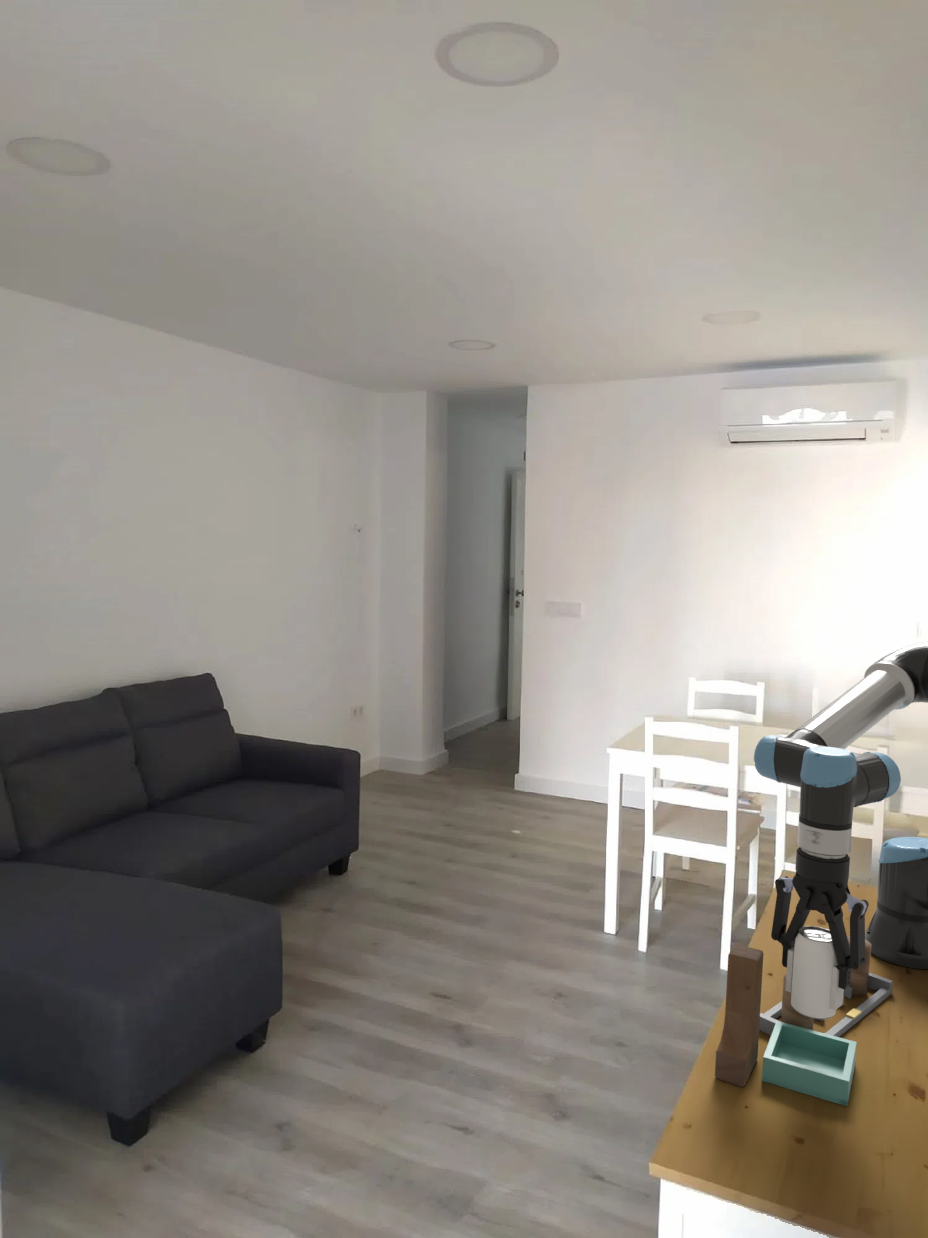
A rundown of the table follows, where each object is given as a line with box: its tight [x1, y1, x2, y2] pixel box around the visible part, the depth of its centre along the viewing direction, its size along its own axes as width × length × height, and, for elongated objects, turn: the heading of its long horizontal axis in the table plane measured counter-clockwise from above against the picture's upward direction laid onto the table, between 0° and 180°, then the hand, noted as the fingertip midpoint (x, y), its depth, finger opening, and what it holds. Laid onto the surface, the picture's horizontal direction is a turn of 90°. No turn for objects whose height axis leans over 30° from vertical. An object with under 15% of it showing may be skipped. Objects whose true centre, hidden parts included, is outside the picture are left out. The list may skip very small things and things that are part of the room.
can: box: [791, 925, 838, 1020], centre depth 136 cm, size 6×6×12 cm
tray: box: [761, 1020, 858, 1107], centre depth 138 cm, size 12×12×4 cm
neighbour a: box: [847, 935, 872, 997], centre depth 164 cm, size 5×5×9 cm
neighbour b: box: [780, 974, 814, 1030], centre depth 149 cm, size 5×5×9 cm
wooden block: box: [714, 944, 764, 1088], centre depth 137 cm, size 9×4×18 cm, turn 149°
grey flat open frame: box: [759, 971, 894, 1038], centre depth 157 cm, size 30×11×2 cm, turn 133°
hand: (813, 997), depth 137 cm, fingers closed on can, 6 cm apart
